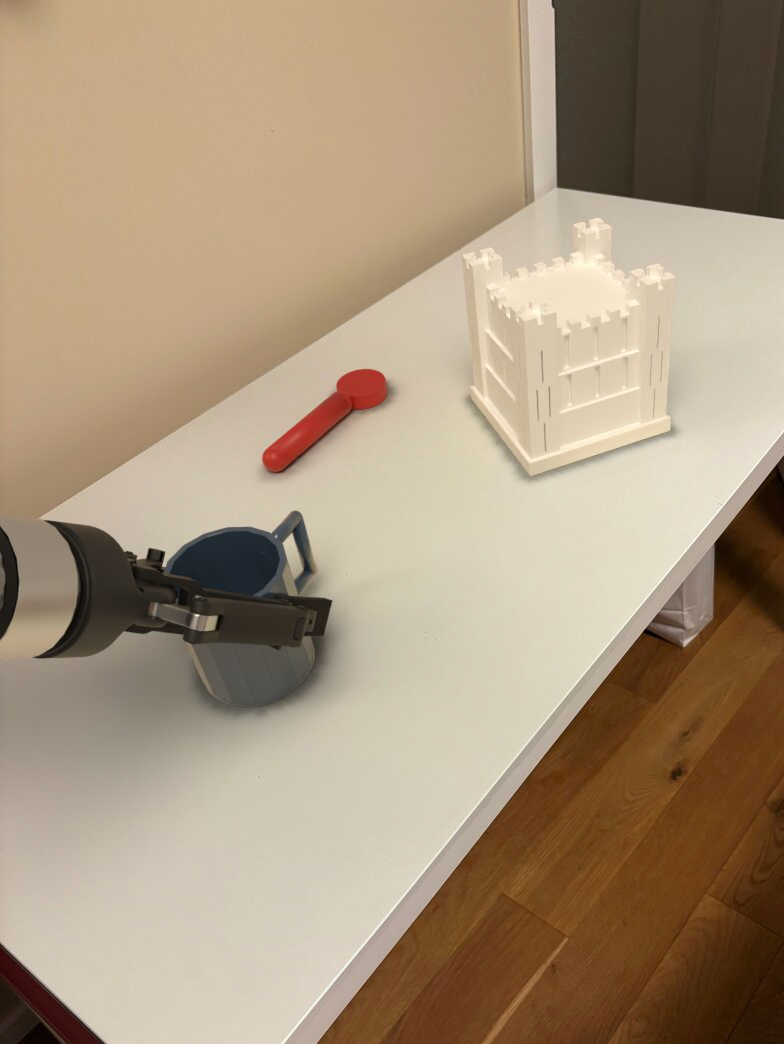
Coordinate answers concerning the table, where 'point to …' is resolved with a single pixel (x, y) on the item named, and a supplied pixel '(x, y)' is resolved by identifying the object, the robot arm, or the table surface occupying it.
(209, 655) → the mug
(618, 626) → the table surface
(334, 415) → the spoon
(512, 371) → the castle model
